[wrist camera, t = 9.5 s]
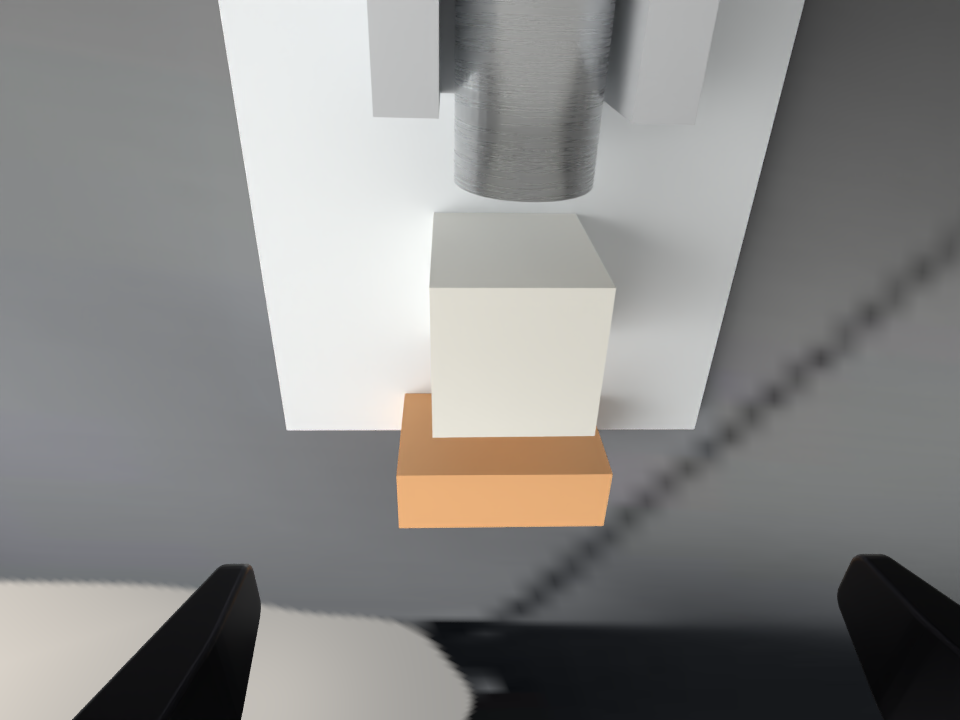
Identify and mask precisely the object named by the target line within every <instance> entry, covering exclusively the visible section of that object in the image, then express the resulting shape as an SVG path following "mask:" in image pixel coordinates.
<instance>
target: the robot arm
mask: <svg viewBox="0 0 960 720" xmlns="http://www.w3.org/2000/svg"><path fill="white" fill-rule="evenodd" d="M837 600H838V605H839V608H840V611H841V613H842V616H843V618H844V621H845V624H846V626H847V629H848V632H849V634H850V637H851V640H852V642H853V645H854V647H855V650H856V653H857V655H858V658H859V661H860V663H861V666H862V669H863V671H864V674H865V676H866V679H867V682H868V684H869V687H870V690H871V692H872V694H873V697H874V699H875V702H876V704H877V706H878V709H879V711H880V713H881V715H882V717H883V719H884V720H960V605H959V604H957V603H956V602H955V601H953V600H952V599H950V598H949V597H947V596H946V595H944V594H943V593H941V592H940V591H938V590H937V589H936V588H934V587H933V586H931V585H930V584H928V583H927V582H925V581H924V580H922V579H921V578H919V577H918V576H917V575H915V574H914V573H912V572H911V571H909V570H908V569H906V568H905V567H903V566H902V565H900V564H899V563H898V562H896V561H895V560H893V559H892V558H890V557H888V556H886V555H883V554H860V555H857V556H855V557H854V558H853V559H852V561H851V563H850V565H849V567H848V569H847V571H846V573H845V575H844V577H843V579H842V582H841V584H840V586H839V588H838V593H837ZM260 612H261V602H260V597H259V593H258V588H257V584H256V580H255V575H254V571H253V569H252V567H251V566H250V565H249V564H224V565H222V566H220V567H219V568H217V569H216V570H215V571H214V572H213V573H212V574H211V576H210V577H209V578H208V579H207V580H206V581H205V582H204V583H203V584H202V585H201V586H200V587H199V588H198V589H197V590H196V591H195V592H194V593H193V594H192V595H191V596H190V597H189V599H188V600H187V601H186V602H185V603H184V604H183V605H182V606H181V607H180V608H179V609H178V610H177V611H176V612H175V613H174V614H173V615H172V616H171V617H170V618H169V619H168V620H167V622H165V623H164V624H163V626H162V627H161V628H160V629H159V630H158V631H157V632H156V633H155V634H154V635H153V636H152V637H151V638H150V639H149V640H148V641H147V642H146V643H145V644H144V645H143V646H142V647H141V648H140V649H139V651H138V652H137V653H136V654H135V655H134V656H133V657H132V658H131V659H130V660H129V661H128V662H127V663H126V664H125V665H124V666H123V667H122V668H121V669H120V670H119V671H118V672H117V673H116V674H115V676H114V677H113V678H112V679H111V680H110V681H109V682H108V683H107V684H106V685H105V686H104V687H103V688H102V689H101V690H100V691H99V692H98V693H97V694H96V695H95V697H93V698H92V700H91V701H90V702H89V703H88V704H87V705H86V706H85V707H84V708H83V709H82V710H81V711H80V712H79V713H78V714H77V715H76V716H75V717H74V719H72V720H241V717H242V712H243V707H244V701H245V696H246V691H247V685H248V680H249V674H250V669H251V663H252V658H253V652H254V647H255V641H256V636H257V630H258V625H259V619H260Z"/></svg>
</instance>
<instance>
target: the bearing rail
mask: <svg viewBox="0 0 960 720" xmlns="http://www.w3.org/2000/svg"><path fill="white" fill-rule="evenodd" d="M218 2H219V8H220V14H221V20H222V27H223V33H224V39H225V46H226V52H227V58H228V64H229V71H230V77H231V83H232V89H233V96H234V102H235V108H236V114H237V121H238V127H239V133H240V139H241V146H242V152H243V158H244V165H245V171H246V177H247V183H248V190H249V196H250V202H251V208H252V215H253V221H254V227H255V233H256V240H257V246H258V252H259V259H260V265H261V271H262V277H263V284H264V290H265V296H266V302H267V309H268V315H269V321H270V327H271V334H272V340H273V346H274V352H275V359H276V365H277V371H278V378H279V384H280V390H281V396H282V403H283V409H284V415H285V421H286V428H287V430H401V436H400V446H399V456H398V466H397V475H396V476H397V496H398V516H399V528H453V527H545V526H603V525H604V519H605V514H606V508H607V503H608V497H609V492H610V486H611V481H612V475H613V474H612V471H611V468H610V465H609V462H608V459H607V456H606V453H605V450H604V447H603V444H602V441H601V438H600V435H599V432H598V429H694V428H695V424H696V421H697V417H698V413H699V409H700V405H701V401H702V397H703V393H704V390H705V386H706V382H707V378H708V374H709V370H710V366H711V362H712V359H713V355H714V351H715V347H716V343H717V339H718V335H719V331H720V327H721V324H722V320H723V316H724V312H725V308H726V304H727V300H728V296H729V293H730V289H731V285H732V281H733V277H734V273H735V269H736V265H737V262H738V258H739V254H740V250H741V246H742V242H743V238H744V234H745V230H746V227H747V223H748V219H749V215H750V211H751V207H752V203H753V199H754V196H755V192H756V188H757V184H758V180H759V176H760V172H761V168H762V165H763V161H764V157H765V153H766V149H767V145H768V141H769V137H770V134H771V130H772V126H773V122H774V118H775V114H776V110H777V106H778V102H779V99H780V95H781V91H782V87H783V83H784V79H785V75H786V71H787V68H788V64H789V60H790V56H791V52H792V48H793V44H794V40H795V37H796V33H797V29H798V25H799V21H800V17H801V13H802V9H803V5H804V2H805V0H616V4H615V12H614V20H613V28H612V37H611V45H610V53H609V61H608V69H607V77H606V85H605V93H604V101H603V110H602V118H601V126H600V134H599V142H598V150H597V158H596V166H595V174H594V183H593V188H592V190H591V191H590V192H589V193H587V194H585V195H583V196H581V197H577V198H574V199H569V200H563V201H554V202H516V201H505V200H498V199H492V198H487V197H483V196H479V195H475V194H472V193H469V192H467V191H465V190H463V189H461V188H459V187H458V186H457V185H456V184H455V182H454V105H455V0H218ZM434 213H573V214H576V215H577V217H578V219H579V220H580V222H581V224H582V226H583V228H584V230H585V231H586V233H587V235H588V237H589V239H590V241H591V243H592V244H593V246H594V248H595V250H596V252H597V254H598V255H599V257H600V259H601V261H602V263H603V265H604V266H605V268H606V270H607V272H608V274H609V276H610V278H611V279H612V281H613V283H614V285H615V287H616V293H615V300H614V307H613V314H612V321H611V327H610V334H609V341H608V348H607V355H606V362H605V369H604V375H603V382H602V389H601V396H600V403H599V410H598V417H597V424H596V430H595V436H545V437H450V438H433V437H432V391H431V345H430V299H429V283H430V266H431V249H432V232H433V215H434Z"/></svg>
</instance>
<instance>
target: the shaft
mask: <svg viewBox="0 0 960 720" xmlns="http://www.w3.org/2000/svg"><path fill="white" fill-rule="evenodd" d="M615 4H616V0H455V105H454V182H455V184H456V185H457V186H458V187H459V188H461V189H463V190H465V191H467V192H469V193H472V194H475V195H479V196H483V197H487V198H492V199H498V200H505V201H516V202H554V201H563V200H569V199H574V198H577V197H581V196H583V195H585V194H587V193H589V192H590V191H591V190H592V188H593V183H594V174H595V166H596V158H597V150H598V142H599V134H600V126H601V118H602V110H603V101H604V93H605V85H606V77H607V69H608V61H609V53H610V45H611V37H612V28H613V20H614V12H615Z"/></svg>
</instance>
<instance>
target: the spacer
mask: <svg viewBox="0 0 960 720" xmlns="http://www.w3.org/2000/svg"><path fill="white" fill-rule="evenodd" d="M615 293H616V287H615V285H614V283H613V281H612V279H611V278H610V276H609V274H608V272H607V270H606V268H605V266H604V265H603V263H602V261H601V259H600V257H599V255H598V254H597V252H596V250H595V248H594V246H593V244H592V243H591V241H590V239H589V237H588V235H587V233H586V231H585V230H584V228H583V226H582V224H581V222H580V220H579V219H578V217H577V215H576V214H573V213H434V215H433V232H432V249H431V266H430V283H429V299H430V345H431V391H432V437H433V438H450V437H545V436H595V430H596V424H597V417H598V410H599V403H600V396H601V389H602V382H603V375H604V369H605V362H606V355H607V348H608V341H609V334H610V327H611V321H612V314H613V307H614V300H615Z"/></svg>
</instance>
